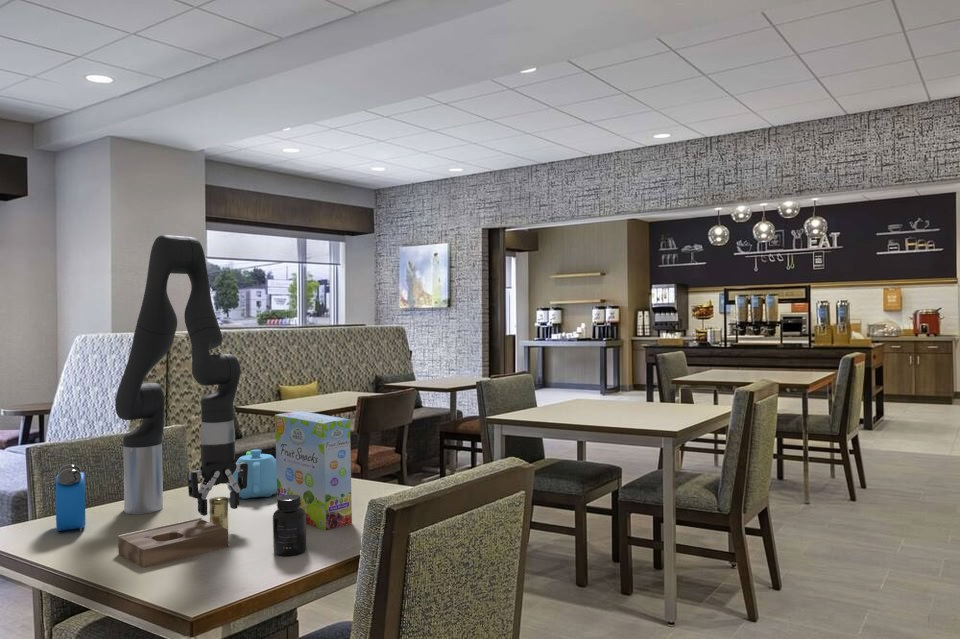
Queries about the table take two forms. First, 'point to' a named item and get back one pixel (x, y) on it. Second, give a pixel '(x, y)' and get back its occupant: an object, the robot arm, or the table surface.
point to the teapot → (258, 475)
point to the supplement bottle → (289, 527)
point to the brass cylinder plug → (219, 511)
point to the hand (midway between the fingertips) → (218, 511)
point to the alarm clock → (70, 498)
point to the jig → (172, 542)
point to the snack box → (315, 465)
